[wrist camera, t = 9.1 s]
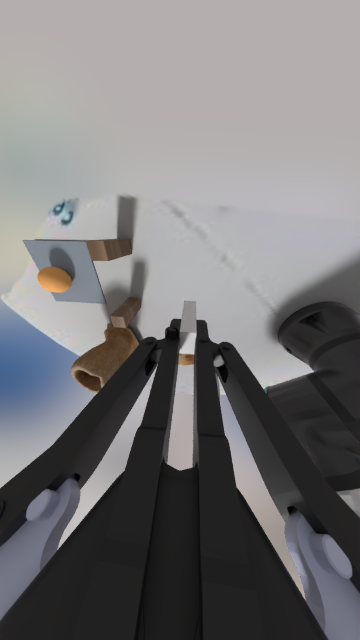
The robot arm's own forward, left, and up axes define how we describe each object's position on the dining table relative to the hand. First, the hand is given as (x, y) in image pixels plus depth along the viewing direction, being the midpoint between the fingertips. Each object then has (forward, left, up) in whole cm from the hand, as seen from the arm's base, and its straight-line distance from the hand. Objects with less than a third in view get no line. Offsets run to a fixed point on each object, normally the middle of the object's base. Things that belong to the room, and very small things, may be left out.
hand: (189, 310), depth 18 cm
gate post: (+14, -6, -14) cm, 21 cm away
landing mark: (+29, 0, -14) cm, 32 cm away
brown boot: (+20, +21, -14) cm, 32 cm away
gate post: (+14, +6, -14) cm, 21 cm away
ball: (+30, 0, -11) cm, 32 cm away
